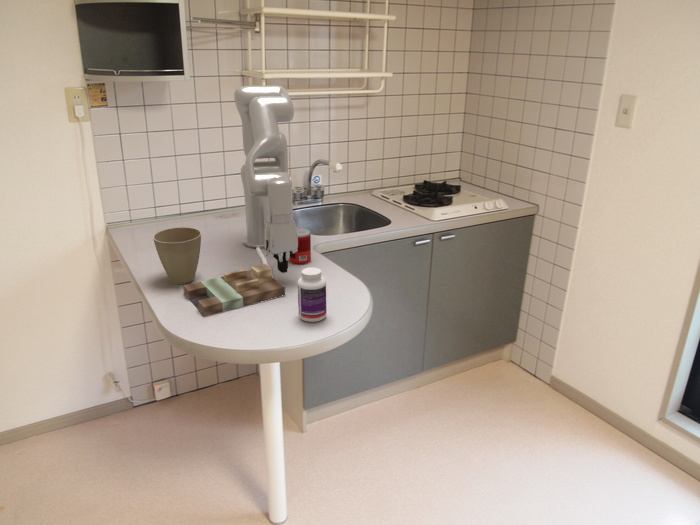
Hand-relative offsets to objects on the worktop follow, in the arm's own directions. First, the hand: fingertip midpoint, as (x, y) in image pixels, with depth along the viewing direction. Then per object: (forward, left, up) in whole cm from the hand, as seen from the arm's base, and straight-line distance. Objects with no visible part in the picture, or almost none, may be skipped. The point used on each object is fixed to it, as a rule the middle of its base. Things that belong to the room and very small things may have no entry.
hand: (282, 271), depth 185 cm
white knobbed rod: (-2, -21, -5) cm, 22 cm away
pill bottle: (+4, +26, -4) cm, 27 cm away
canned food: (-14, -14, -4) cm, 20 cm away
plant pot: (+27, -20, -4) cm, 34 cm away
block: (+7, 0, -1) cm, 8 cm away
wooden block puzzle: (+17, 0, -4) cm, 17 cm away
